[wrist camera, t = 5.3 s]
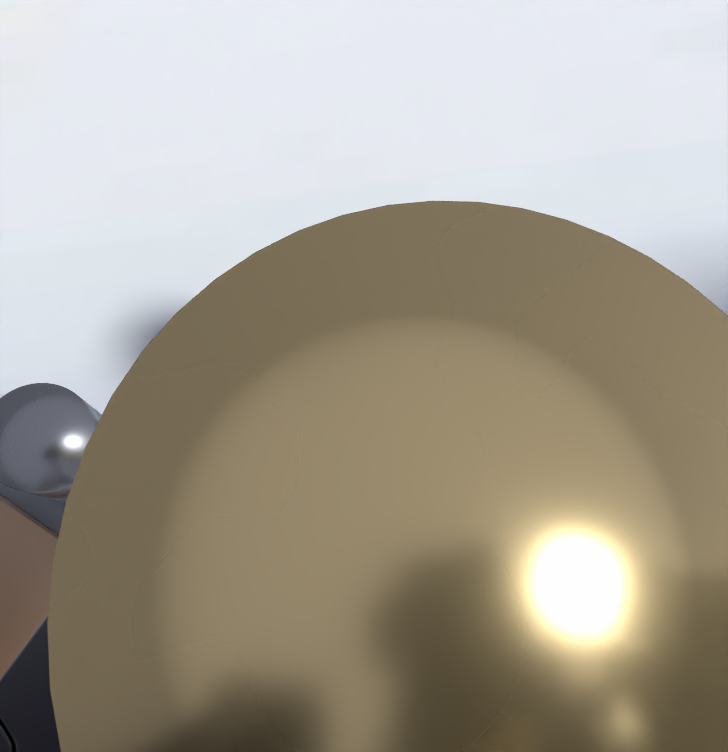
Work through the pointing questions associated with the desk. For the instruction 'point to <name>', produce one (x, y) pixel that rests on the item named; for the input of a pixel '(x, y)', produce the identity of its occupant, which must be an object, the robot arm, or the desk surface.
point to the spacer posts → (43, 438)
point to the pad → (22, 578)
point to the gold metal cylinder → (408, 503)
